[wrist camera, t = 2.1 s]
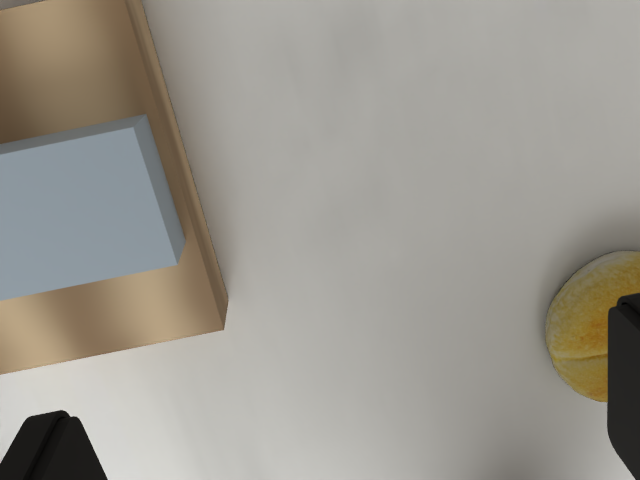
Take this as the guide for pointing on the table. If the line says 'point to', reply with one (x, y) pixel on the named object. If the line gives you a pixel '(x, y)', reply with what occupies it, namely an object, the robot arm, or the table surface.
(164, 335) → the wooden block
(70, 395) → the table surface
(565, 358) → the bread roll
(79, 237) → the tile
